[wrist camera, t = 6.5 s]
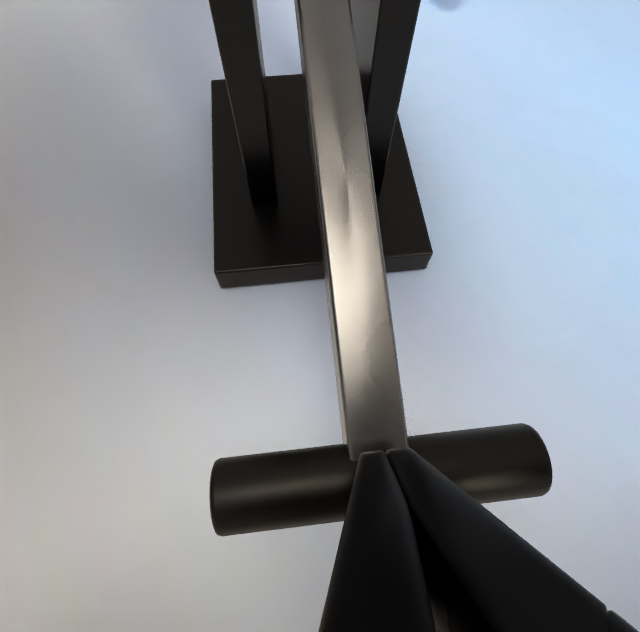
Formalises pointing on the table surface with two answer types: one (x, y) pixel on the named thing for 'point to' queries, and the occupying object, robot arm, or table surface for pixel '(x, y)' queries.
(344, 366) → the lever
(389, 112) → the bracket
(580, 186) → the table surface
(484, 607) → the robot arm
